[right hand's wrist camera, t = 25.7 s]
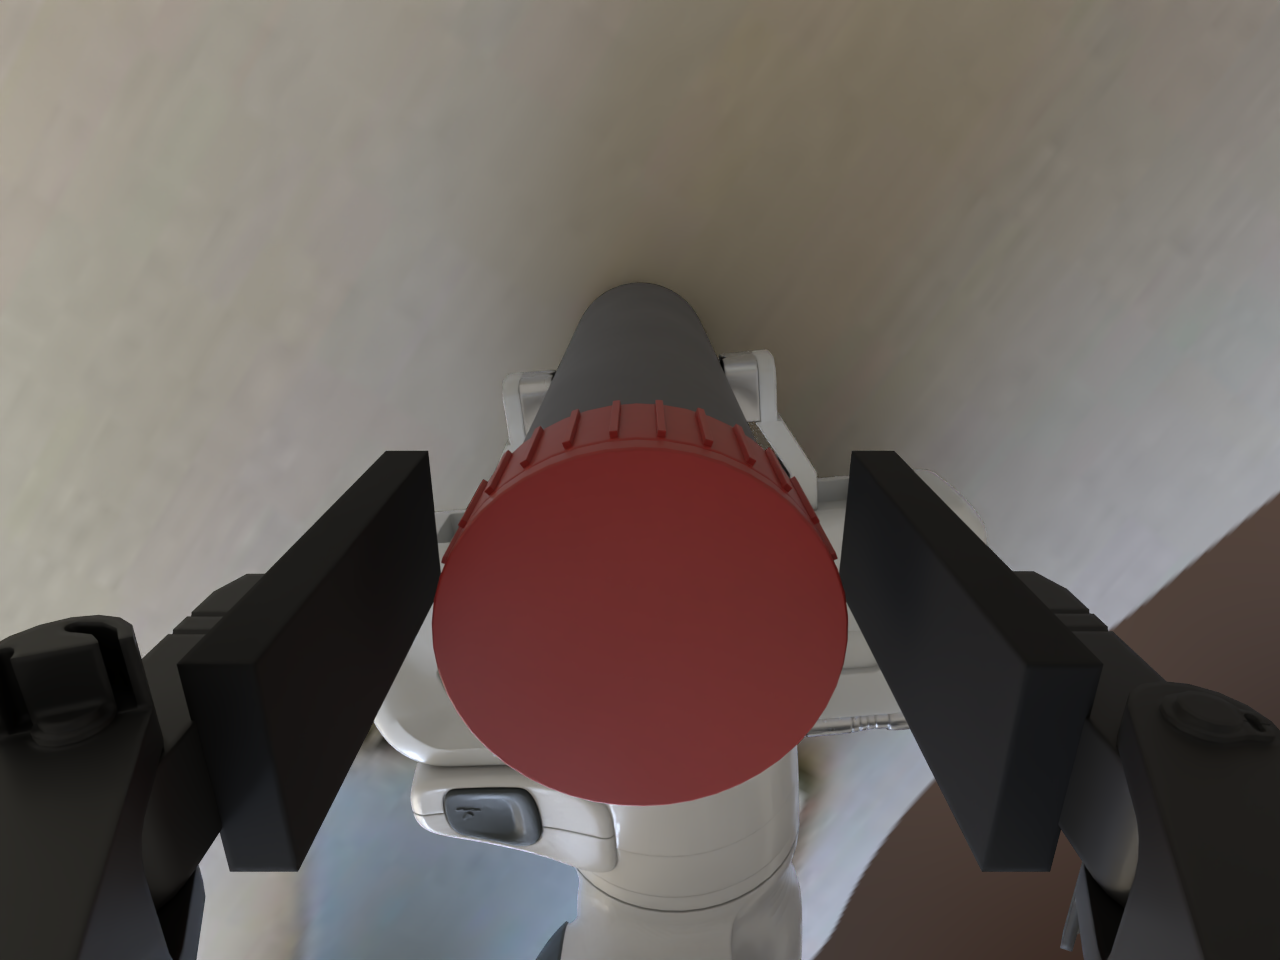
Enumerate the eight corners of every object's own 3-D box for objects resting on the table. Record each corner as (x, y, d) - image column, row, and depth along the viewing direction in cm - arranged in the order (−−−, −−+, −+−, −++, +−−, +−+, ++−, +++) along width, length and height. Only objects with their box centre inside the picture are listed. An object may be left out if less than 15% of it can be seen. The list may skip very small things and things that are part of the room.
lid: (529, 750, 13) (509, 847, 11) (404, 455, 11) (355, 510, 9) (849, 674, 13) (887, 762, 11) (775, 350, 11) (806, 386, 9)
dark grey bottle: (563, 398, 30) (446, 712, 12) (588, 268, 28) (495, 405, 10) (688, 425, 30) (759, 769, 12) (720, 299, 28) (859, 482, 10)
